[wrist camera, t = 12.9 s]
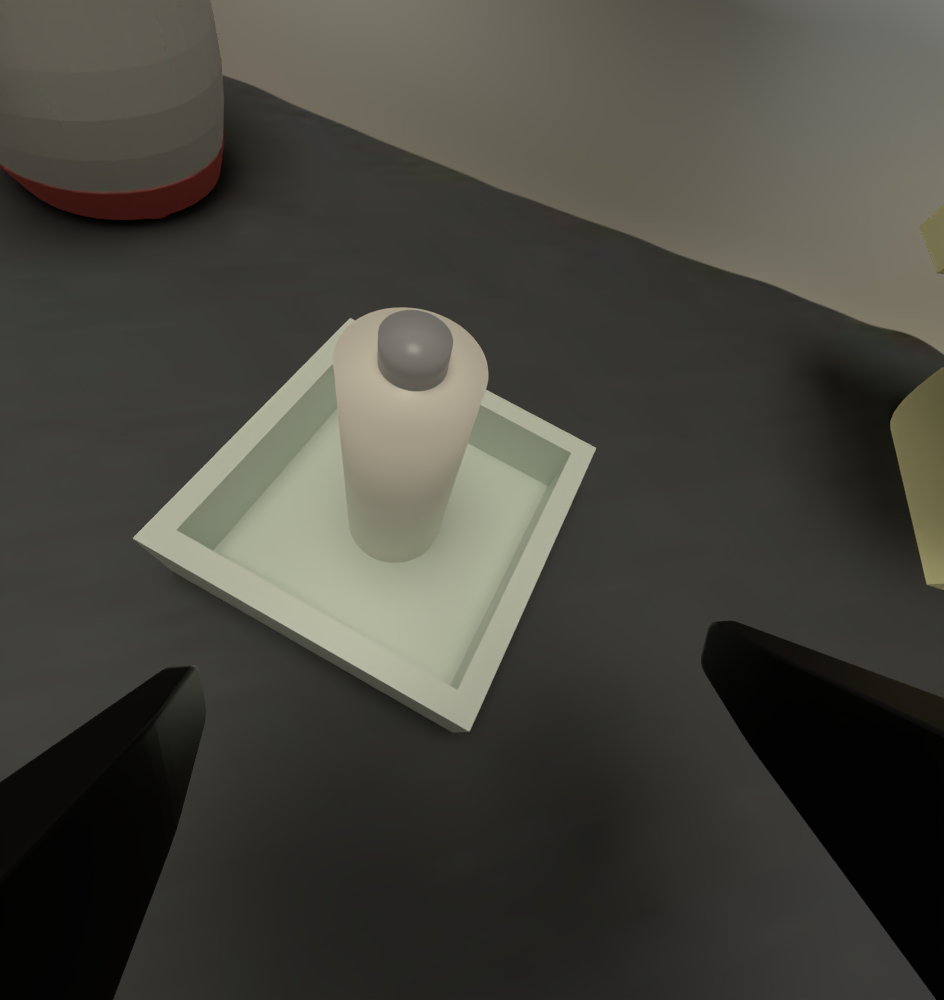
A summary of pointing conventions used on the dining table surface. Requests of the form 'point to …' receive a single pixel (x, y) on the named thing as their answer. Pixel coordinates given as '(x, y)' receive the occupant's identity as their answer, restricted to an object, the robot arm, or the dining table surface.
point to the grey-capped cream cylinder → (404, 424)
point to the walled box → (354, 574)
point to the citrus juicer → (111, 104)
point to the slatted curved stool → (925, 442)
